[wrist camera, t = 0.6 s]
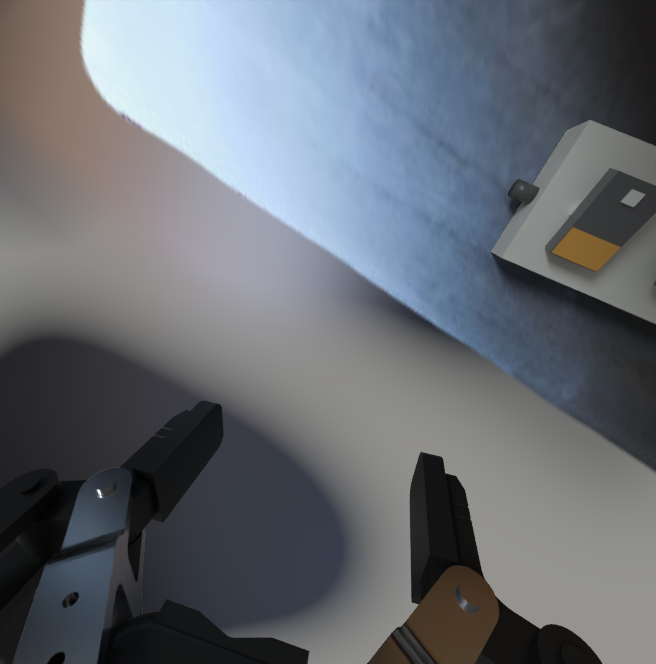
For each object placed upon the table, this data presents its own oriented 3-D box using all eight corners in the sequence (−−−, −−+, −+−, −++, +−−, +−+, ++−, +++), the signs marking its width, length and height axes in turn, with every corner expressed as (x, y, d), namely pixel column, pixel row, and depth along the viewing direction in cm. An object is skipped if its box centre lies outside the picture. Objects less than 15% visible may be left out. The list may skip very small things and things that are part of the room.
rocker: (609, 167, 24) (620, 171, 23) (663, 189, 24) (676, 194, 23) (544, 246, 29) (550, 253, 27) (589, 265, 28) (596, 273, 27)
